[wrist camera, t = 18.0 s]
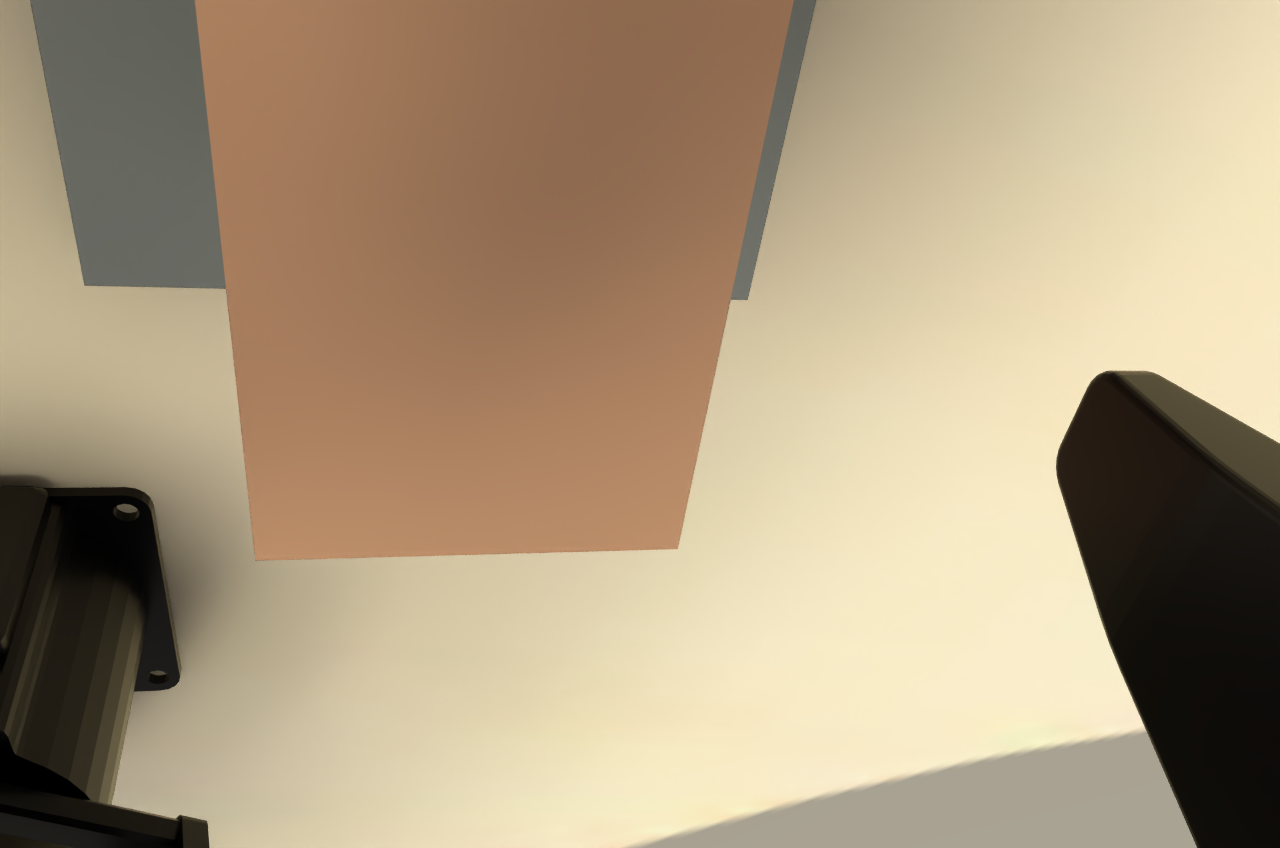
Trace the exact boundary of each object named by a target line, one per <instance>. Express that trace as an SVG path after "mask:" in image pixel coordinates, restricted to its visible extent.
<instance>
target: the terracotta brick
mask: <svg viewBox="0 0 1280 848" xmlns="http://www.w3.org/2000/svg"><path fill="white" fill-rule="evenodd" d="M793 2H794V0H195V6H196V16H197V25H198V34H199V43H200V53H201V62H202V71H203V80H204V90H205V99H206V108H207V117H208V127H209V136H210V145H211V154H212V163H213V173H214V182H215V191H216V200H217V210H218V219H219V228H220V237H221V247H222V256H223V265H224V274H225V284H226V293H227V302H228V311H229V321H230V330H231V339H232V348H233V358H234V367H235V376H236V385H237V395H238V404H239V413H240V422H241V432H242V441H243V450H244V459H245V468H246V478H247V487H248V496H249V505H250V515H251V524H252V533H253V542H254V552H255V561H256V560H293V559H329V558H365V557H402V556H438V555H475V554H511V553H548V552H584V551H620V550H657V549H678V545H679V540H680V535H681V531H682V526H683V521H684V517H685V512H686V507H687V502H688V498H689V493H690V488H691V484H692V479H693V474H694V469H695V465H696V460H697V455H698V451H699V446H700V441H701V436H702V432H703V427H704V422H705V418H706V413H707V408H708V403H709V399H710V394H711V389H712V385H713V380H714V375H715V370H716V366H717V361H718V356H719V351H720V347H721V342H722V337H723V333H724V328H725V323H726V318H727V314H728V309H729V304H730V300H731V295H732V290H733V285H734V281H735V276H736V271H737V267H738V262H739V257H740V252H741V248H742V243H743V238H744V234H745V229H746V224H747V219H748V215H749V210H750V205H751V201H752V196H753V191H754V186H755V182H756V177H757V172H758V167H759V163H760V158H761V153H762V149H763V144H764V139H765V134H766V130H767V125H768V120H769V116H770V111H771V106H772V101H773V97H774V92H775V87H776V83H777V78H778V73H779V68H780V64H781V59H782V54H783V50H784V45H785V40H786V35H787V31H788V26H789V21H790V17H791V12H792V7H793Z"/></svg>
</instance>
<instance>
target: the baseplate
mask: <svg viewBox="0 0 1280 848" xmlns="http://www.w3.org/2000/svg"><path fill="white" fill-rule="evenodd" d="M30 2H31V7H32V12H33V17H34V23H35V28H36V33H37V38H38V44H39V49H40V54H41V59H42V65H43V70H44V75H45V80H46V86H47V91H48V96H49V101H50V107H51V112H52V117H53V122H54V128H55V133H56V138H57V143H58V149H59V154H60V159H61V164H62V170H63V175H64V180H65V185H66V191H67V196H68V201H69V206H70V212H71V217H72V222H73V227H74V233H75V238H76V243H77V248H78V254H79V259H80V264H81V269H82V275H83V280H84V285H85V286H129V287H175V288H221V289H226V284H225V274H224V265H223V256H222V247H221V237H220V228H219V219H218V210H217V200H216V191H215V182H214V173H213V163H212V154H211V145H210V136H209V127H208V117H207V108H206V99H205V90H204V80H203V71H202V62H201V53H200V43H199V34H198V25H197V16H196V6H195V0H30ZM815 3H816V0H794V2H793V7H792V12H791V17H790V21H789V26H788V31H787V35H786V40H785V45H784V50H783V54H782V59H781V64H780V68H779V73H778V78H777V83H776V87H775V92H774V97H773V101H772V106H771V111H770V116H769V120H768V125H767V130H766V134H765V139H764V144H763V149H762V153H761V158H760V163H759V167H758V172H757V177H756V182H755V186H754V191H753V196H752V201H751V205H750V210H749V215H748V219H747V224H746V229H745V234H744V238H743V243H742V248H741V252H740V257H739V262H738V267H737V271H736V276H735V281H734V285H733V290H732V295H731V300H748V296H749V291H750V287H751V283H752V278H753V274H754V270H755V265H756V261H757V256H758V252H759V248H760V243H761V239H762V235H763V230H764V226H765V222H766V217H767V213H768V208H769V204H770V200H771V195H772V191H773V187H774V182H775V178H776V173H777V169H778V165H779V160H780V156H781V152H782V147H783V143H784V139H785V134H786V130H787V125H788V121H789V117H790V112H791V108H792V104H793V99H794V95H795V90H796V86H797V82H798V77H799V73H800V69H801V64H802V60H803V56H804V51H805V47H806V42H807V38H808V34H809V29H810V25H811V21H812V16H813V12H814V7H815Z"/></svg>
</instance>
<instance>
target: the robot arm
mask: <svg viewBox="0 0 1280 848" xmlns="http://www.w3.org/2000/svg"><path fill="white" fill-rule="evenodd" d="M1056 472H1057V479H1058V483H1059V487H1060V490H1061V493H1062V496H1063V499H1064V503H1065V506H1066V509H1067V512H1068V515H1069V519H1070V522H1071V525H1072V528H1073V532H1074V535H1075V538H1076V541H1077V544H1078V548H1079V551H1080V554H1081V557H1082V560H1083V564H1084V567H1085V570H1086V573H1087V576H1088V580H1089V583H1090V586H1091V589H1092V592H1093V596H1094V599H1095V602H1096V605H1097V609H1098V612H1099V615H1100V618H1101V621H1102V624H1103V627H1104V629H1105V632H1106V635H1107V638H1108V641H1109V644H1110V646H1111V649H1112V651H1113V654H1114V656H1115V659H1116V661H1117V664H1118V666H1119V669H1120V671H1121V673H1122V676H1123V678H1124V680H1125V683H1126V685H1127V687H1128V690H1129V692H1130V694H1131V696H1132V699H1133V701H1134V703H1135V706H1136V708H1137V710H1138V713H1139V715H1140V717H1141V719H1142V722H1143V724H1144V726H1145V729H1146V731H1147V733H1148V736H1149V738H1150V740H1151V742H1152V745H1153V747H1154V749H1155V752H1156V754H1157V756H1158V758H1159V761H1160V763H1161V765H1162V768H1163V770H1164V772H1165V775H1166V777H1167V779H1168V782H1169V784H1170V786H1171V788H1172V791H1173V793H1174V795H1175V798H1176V800H1177V802H1178V804H1179V807H1180V809H1181V811H1182V814H1183V816H1184V818H1185V820H1186V823H1187V825H1188V827H1189V830H1190V832H1191V834H1192V837H1193V839H1194V841H1195V844H1196V846H1197V848H1280V443H1278V442H1276V441H1274V440H1273V439H1271V438H1269V437H1267V436H1266V435H1264V434H1262V433H1260V432H1259V431H1257V430H1255V429H1253V428H1251V427H1250V426H1248V425H1246V424H1244V423H1243V422H1241V421H1239V420H1237V419H1236V418H1234V417H1232V416H1230V415H1229V414H1227V413H1225V412H1223V411H1221V410H1220V409H1218V408H1216V407H1214V406H1213V405H1211V404H1209V403H1207V402H1206V401H1204V400H1202V399H1200V398H1199V397H1197V396H1195V395H1193V394H1191V393H1190V392H1188V391H1186V390H1184V389H1183V388H1181V387H1179V386H1177V385H1176V384H1174V383H1172V382H1170V381H1169V380H1167V379H1165V378H1163V377H1161V376H1160V375H1158V374H1155V373H1152V372H1148V371H1106V372H1103V373H1100V374H1099V375H1097V376H1096V377H1095V378H1094V379H1093V380H1092V381H1091V383H1090V384H1089V386H1088V388H1087V390H1086V392H1085V394H1084V396H1083V398H1082V400H1081V403H1080V405H1079V407H1078V409H1077V411H1076V413H1075V415H1074V417H1073V420H1072V422H1071V424H1070V426H1069V428H1068V430H1067V432H1066V434H1065V436H1064V439H1063V441H1062V443H1061V445H1060V448H1059V450H1058V455H1057V461H1056ZM121 504H130V505H133V506H134V507H136V508H137V509H138V511H137V512H134V513H125V512H122V511H120V510H119V509H117V507H116V506H118V505H121ZM156 670H157V671H163V672H165V673H167V674H166V675H162V676H157V675H153V674H151V673H150V672H151V671H156ZM180 673H181V664H180V658H179V652H178V646H177V640H176V635H175V629H174V623H173V617H172V611H171V605H170V599H169V594H168V588H167V582H166V576H165V570H164V564H163V558H162V553H161V547H160V541H159V535H158V529H157V523H156V517H155V512H154V506H153V503H152V500H151V498H150V497H149V496H148V495H147V494H145V493H144V492H142V491H140V490H138V489H135V488H127V487H101V488H39V487H33V486H9V487H0V848H209V837H208V823H207V821H205V820H201V819H196V818H191V817H187V816H182V815H179V816H178V817H177V818H176V819H174V818H169V817H165V816H160V815H156V814H151V813H146V812H142V811H137V810H133V809H128V808H123V807H119V806H114V805H112V800H113V795H114V790H115V785H116V779H117V774H118V769H119V764H120V759H121V754H122V749H123V743H124V738H125V733H126V728H127V723H128V718H129V713H130V708H131V702H132V697H133V692H134V691H156V690H165V689H170V688H172V687H174V686H175V685H176V684H177V683H178V682H179V679H180Z"/></svg>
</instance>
